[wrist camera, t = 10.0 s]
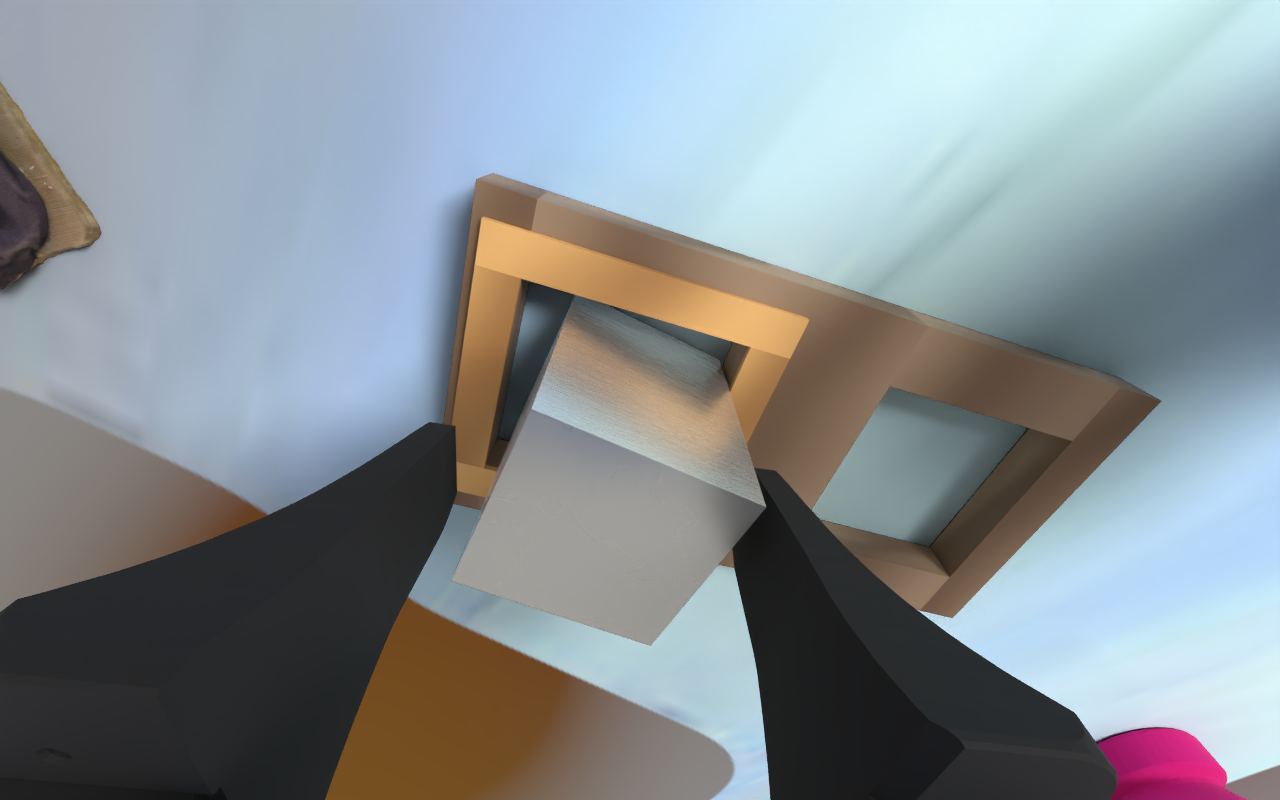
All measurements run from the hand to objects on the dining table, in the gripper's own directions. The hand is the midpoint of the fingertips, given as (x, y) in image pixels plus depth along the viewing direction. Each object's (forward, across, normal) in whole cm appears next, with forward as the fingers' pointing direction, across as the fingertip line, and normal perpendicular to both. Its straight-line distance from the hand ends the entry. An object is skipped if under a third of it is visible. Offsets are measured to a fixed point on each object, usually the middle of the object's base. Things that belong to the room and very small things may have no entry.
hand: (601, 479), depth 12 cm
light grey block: (+5, 0, 0) cm, 5 cm away
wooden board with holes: (+5, -5, +1) cm, 7 cm away
